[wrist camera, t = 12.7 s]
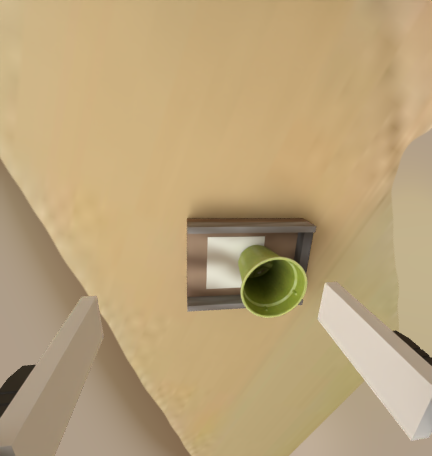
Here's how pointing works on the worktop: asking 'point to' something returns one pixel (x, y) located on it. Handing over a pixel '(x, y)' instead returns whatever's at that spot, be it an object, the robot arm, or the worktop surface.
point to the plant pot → (270, 282)
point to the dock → (236, 255)
